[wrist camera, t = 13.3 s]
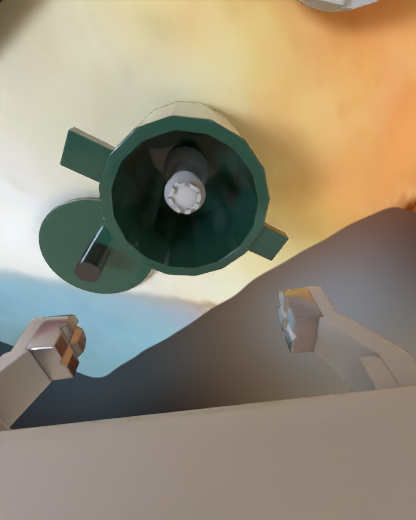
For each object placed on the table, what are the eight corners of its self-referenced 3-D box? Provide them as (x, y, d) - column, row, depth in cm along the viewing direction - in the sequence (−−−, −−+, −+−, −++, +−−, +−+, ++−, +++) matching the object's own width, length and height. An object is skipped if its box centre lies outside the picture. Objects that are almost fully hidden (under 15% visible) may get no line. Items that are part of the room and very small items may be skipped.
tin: (229, 243, 33) (243, 303, 25) (87, 179, 28) (41, 226, 19) (288, 155, 28) (332, 192, 19) (125, 55, 23) (84, 43, 14)
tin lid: (133, 299, 38) (126, 329, 33) (34, 266, 34) (11, 294, 29) (171, 225, 32) (168, 249, 27) (56, 174, 28) (32, 193, 23)
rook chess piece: (186, 199, 29) (185, 235, 23) (154, 168, 27) (142, 198, 21) (217, 169, 28) (226, 199, 21) (185, 134, 26) (183, 155, 19)
